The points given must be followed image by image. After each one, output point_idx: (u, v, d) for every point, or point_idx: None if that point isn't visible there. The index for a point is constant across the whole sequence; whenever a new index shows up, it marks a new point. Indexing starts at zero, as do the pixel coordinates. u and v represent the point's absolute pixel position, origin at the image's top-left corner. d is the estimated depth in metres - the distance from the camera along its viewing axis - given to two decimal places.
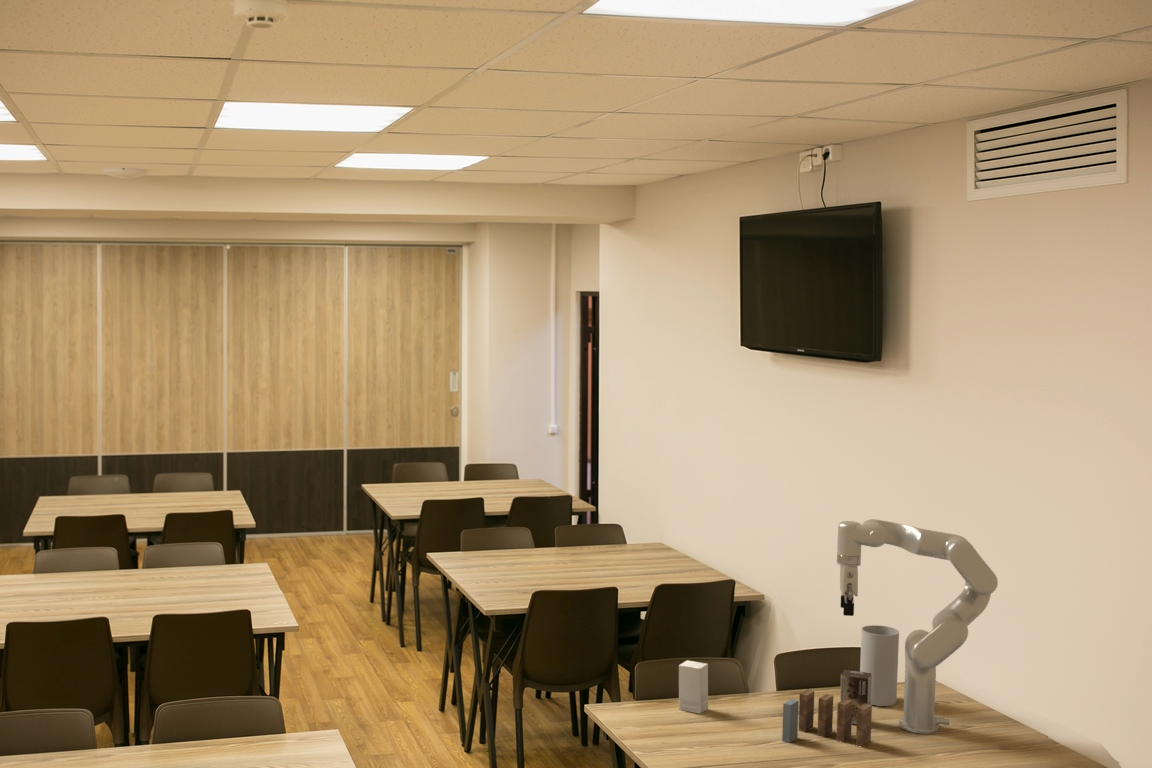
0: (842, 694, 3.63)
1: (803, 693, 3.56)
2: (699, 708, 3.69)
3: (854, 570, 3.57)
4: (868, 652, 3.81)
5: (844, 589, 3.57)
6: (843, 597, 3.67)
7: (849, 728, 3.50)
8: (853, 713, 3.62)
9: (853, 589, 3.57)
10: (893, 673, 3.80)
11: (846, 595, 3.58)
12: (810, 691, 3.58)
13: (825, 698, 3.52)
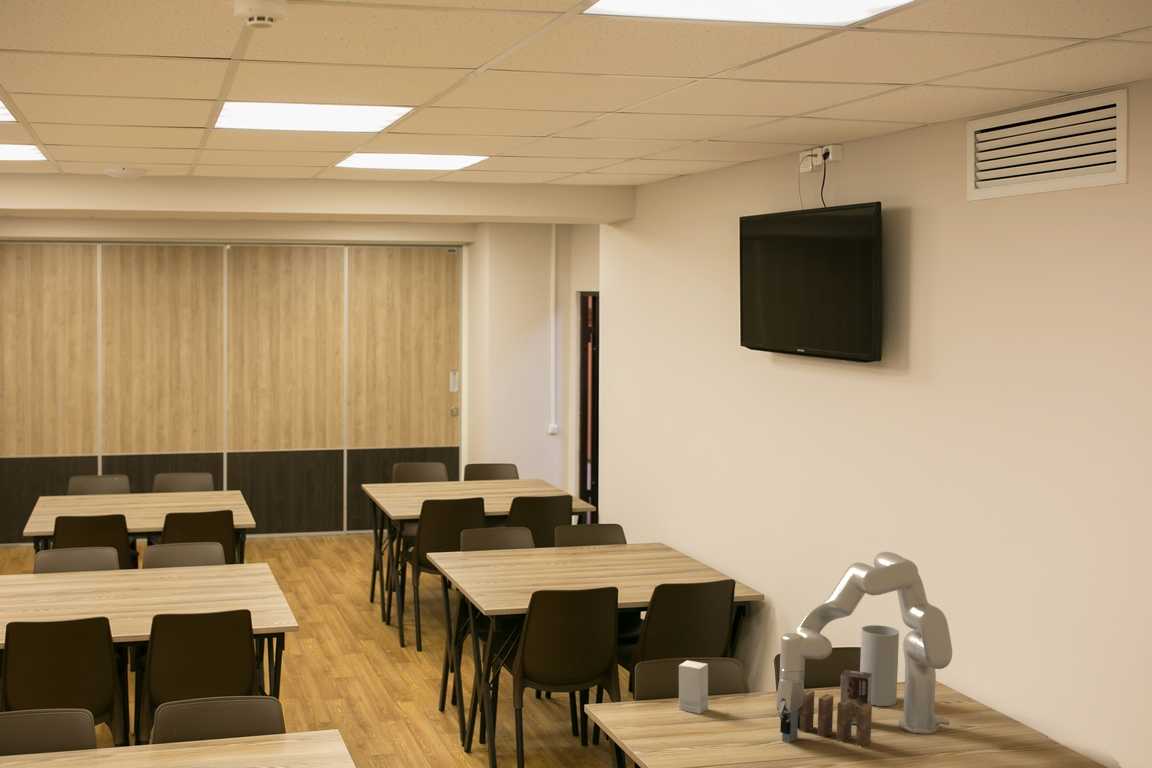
0: (842, 694, 3.63)
1: None
2: (699, 708, 3.69)
3: None
4: (868, 652, 3.81)
5: None
6: None
7: (849, 729, 3.50)
8: (853, 713, 3.62)
9: None
10: (893, 673, 3.80)
11: None
12: (810, 691, 3.58)
13: (825, 698, 3.52)
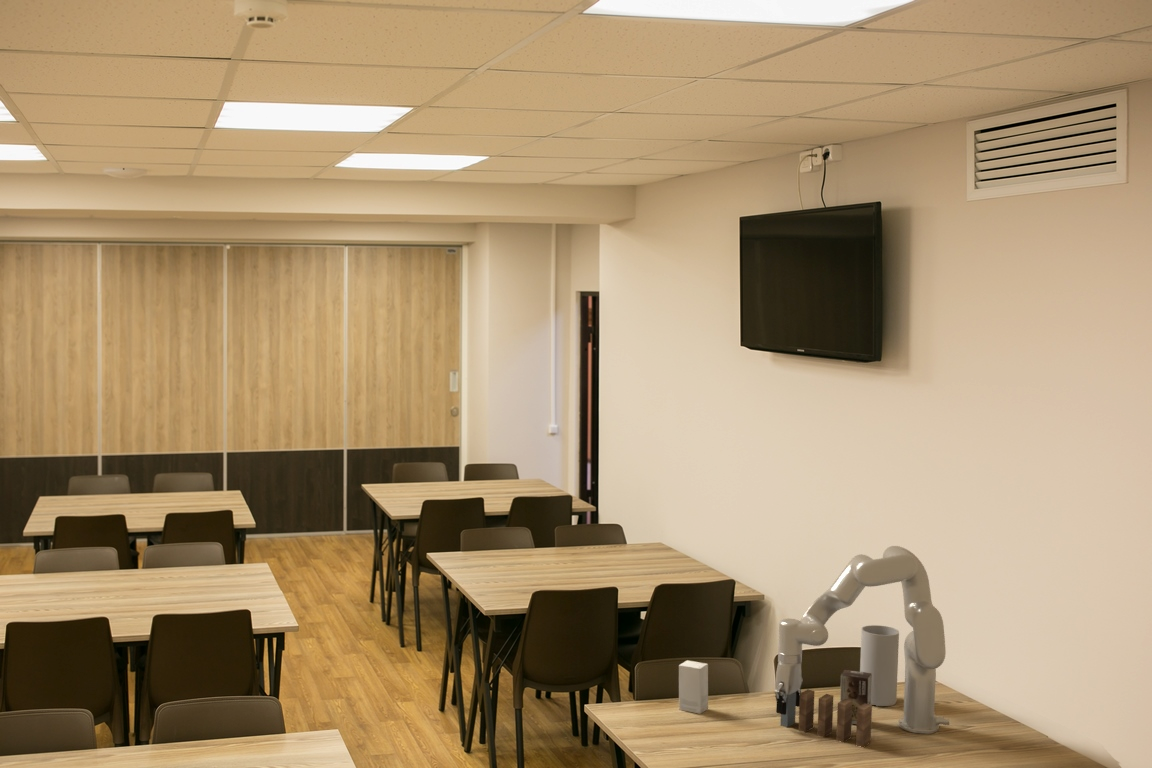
0: (842, 694, 3.63)
1: (803, 693, 3.56)
2: (699, 708, 3.69)
3: None
4: (868, 652, 3.81)
5: None
6: None
7: (849, 728, 3.50)
8: (853, 713, 3.62)
9: None
10: (893, 673, 3.80)
11: None
12: (810, 691, 3.58)
13: (825, 698, 3.52)
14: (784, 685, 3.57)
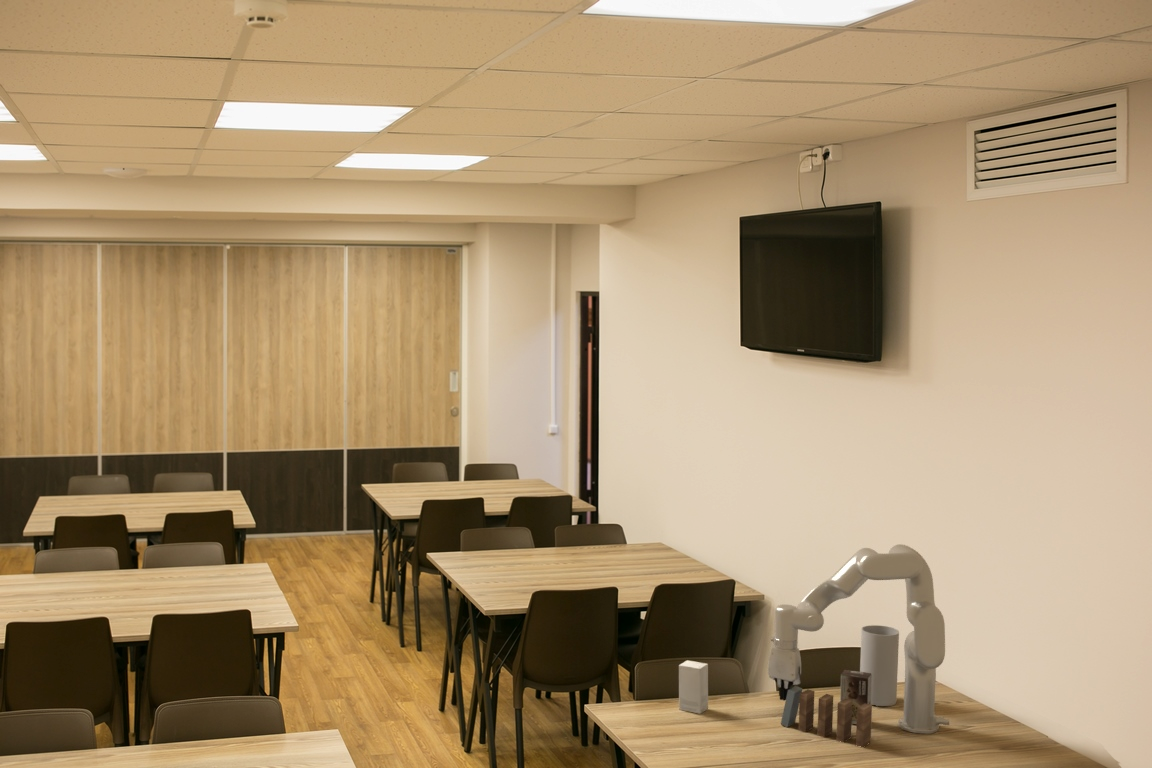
0: (842, 694, 3.63)
1: (803, 693, 3.56)
2: (699, 708, 3.69)
3: None
4: (868, 652, 3.81)
5: None
6: None
7: (849, 728, 3.50)
8: (853, 713, 3.62)
9: None
10: (893, 673, 3.80)
11: None
12: (810, 691, 3.58)
13: (825, 698, 3.52)
14: (800, 669, 3.59)
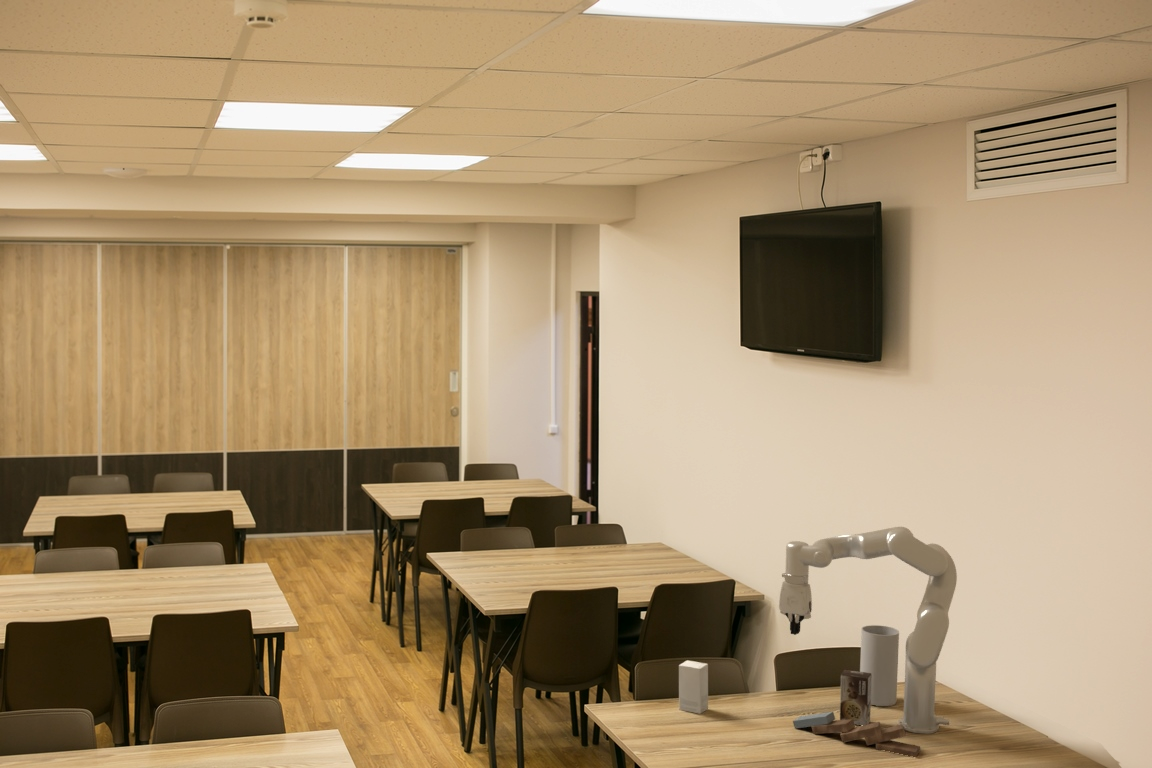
0: (842, 694, 3.63)
1: (847, 725, 3.48)
2: (699, 708, 3.69)
3: (782, 584, 3.71)
4: (868, 652, 3.81)
5: None
6: None
7: None
8: (853, 713, 3.62)
9: None
10: (893, 673, 3.80)
11: None
12: (852, 725, 3.50)
13: (880, 730, 3.43)
14: (811, 604, 3.67)
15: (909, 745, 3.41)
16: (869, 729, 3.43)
